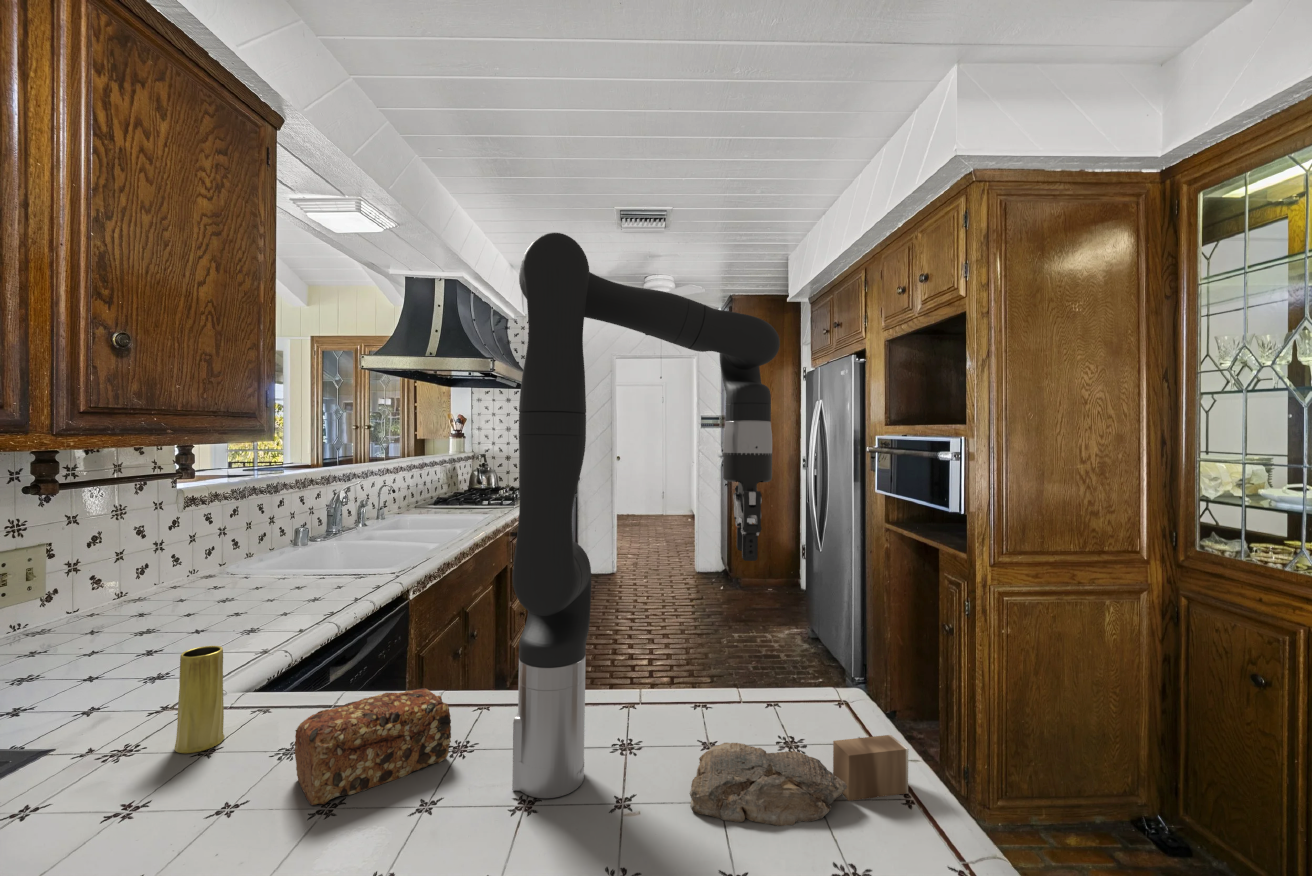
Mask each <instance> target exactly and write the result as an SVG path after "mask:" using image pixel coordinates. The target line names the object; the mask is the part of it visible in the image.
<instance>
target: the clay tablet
mask: <svg viewBox="0 0 1312 876" xmlns="http://www.w3.org/2000/svg"><path fill="white" fill-rule="evenodd" d="M698 760H699V765H698V766H697V770H696V776H694V777H693V779H692V781H691V785H690V786H691V788H690V791H689V796H690V798H691V800H690V804H689V805H690V808H691V811H692V812H694V813H697V814H699V815H706V816H711V817H713V818H716V819H721V820H722V821H731V822H735V823H741V822H742V823H743V822H744V821H745V819H747V820H749V821H751V822H755V823H761V824H767V825H772V826H778V827H782V826H783V827H784V826H794V825H795V823H796V822H797V823H798V822H814V821H817V820H822V818H824V817H825V816H826V815H827V814H829V812H830V811H831V810H832V806H831V805H832V804H833V802H834V801H835V800H836V799H838V798H839V797H840V796H841V795H843V794H842V793H843V792H844V790H845V789H846V788H847V785H846V783H845V782H843V781H842V780H841V779H839V778H838V777H836V776H834V774H833V771H830V770H828V768H827V767H826V766H825V765H824V764H823V762H821V760H820V759H818V758H815V757H813V756H809V755H807V754H806V753H802V752H799V751H798V752H797V751H795V750H791V751H787V750H785V751H777V752H767V751H766V750H765V749H763V748H762V747H755V746H752V745H748V744H745V743H738V742H723V743H720V744H718V745H717V744H716V745H713V746H712V747H710V749H708V750H706V751H705V752H704V753H703V754H702V755H700V757H699V758H698Z"/></svg>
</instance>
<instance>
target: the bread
mask: <svg viewBox="0 0 1312 876" xmlns="http://www.w3.org/2000/svg"><path fill="white" fill-rule="evenodd" d="M451 723H452V719H451V713H450V707H449V705H448V703H447V702H444V701H443V700H442V696H441V695H436V694H435V693H434V692H432V691H431V690H429V689H428V688H425V687H423V688H422V687H421V688H417V689H413V690H405V691H403V692H402V691H401V692H383V693H380V694H377V695H372V696H369V697H364V698H362V699H360V700H357V701H351V702H348V703H345V704H344V705H342V706H339V707H336V708H335V707H334V708H330V709H329V708H327V709H322V710H319V711H317V712H316V713H315V714H312V715H310V716H308V717H307V718H306V719H304V720H303V721H302V722H301V723H299V725H298V726H297V728H296V729H295V730H294V731H295V736H294V737H295V741H294V758H295V764H296V767H295V770H296V776H297V779H298V783H299V787H300V788H301V789H302V791H303V793H304V797H305V798H306V800H307V801H308V803H309V805H311V806H316V805H317V806H318V804H319V805H326V804H327V803H328V802H329V801H330V800H332V799H335V798H338V797H346V796H347V795H348V796H349V795H350V796H351V795H355V794H356V793H359V792H362V791H366V790H368V789H371V788H374V787H377V786H380V785H383V784H386V783H388V782H392V781H395V780H397V779H401V778H403V777H407V776H409V775H410V774H412V773H414V772H415V771H419V770H421V769H422V768H423V769H424V768H426V767H428V766H429V765H434V764H436V763H437V764H438V763H442V762H443V761H444V760H445V759H446V758H447V757H448V756H449V752H450V751H449V750H450V749H449V746H451V743H452V741H451V738H452V732H451V731H452V725H451ZM408 774H409V775H408ZM406 775H407V776H406ZM400 777H401V778H400Z"/></svg>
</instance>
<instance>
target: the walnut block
mask: <svg viewBox="0 0 1312 876" xmlns="http://www.w3.org/2000/svg"><path fill="white" fill-rule="evenodd" d="M832 743H833V744H832V746H833V747H832V748H833V749H832V750H833V751H832V753H833V757H832V761H833V762H832V766H833V767H832V773H833V774H834V776H836V777H838V778H839V779H841V780H842V781H843V782H845V783H846V785H847V788H846V789H845V790H844V792H843V793H842V794H841V795H842V796H843V797H844V798H845V799H846V801H848V802H850V801H851V802H852V801H858V800H866V799H875V798H881V797H890V796H896V795H897V796H898V795H904V794H905V795H906V794H909V748H908V747H907V746H905V745H904V744H903V743H902V742H900V741H899V740H898V739H897V738H895V737H894V736H893V735H892V734H886V735H884V734H883V735H876V736H875V735H874V736H865V737H864V736H863V737H856V738H848V739H847V738H846V739H837V740H836V739H835V740H833V741H832Z"/></svg>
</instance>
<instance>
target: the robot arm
mask: <svg viewBox="0 0 1312 876" xmlns="http://www.w3.org/2000/svg"><path fill="white" fill-rule="evenodd" d="M589 265H590V264H589V261H588V257H587V255H586V253H585V251H584V250H583V247H581V245H580V244H579V242H577V241H576V240H575V239H573V237H571V236H569V235H566V234H564V233H562V232H548V233H545V234H542V235H541V236H539V237H538V238H536V239H535V240H534V241H532V243H531V244H529V246H528V247H527V249H526V251H525V252H524V254H523V257H522V259H521V265H520V269H519V275H518V283H519V288H520V290H521V292H522V294H523V296H524V298H525V299H526V304H527V305H526V306H527V319H528V320H527V322H528V335H527V337H528V338H527V347H526V353H525V359H524V363H523V369H522V377H521V383H520V392H519V404H518V456H519V457H518V493H519V497H518V498H519V506H518V507H519V509H518V511H519V512H518V525H517V534H516V541H515V543H516V544H515V550H514V557H513V568H512V587H513V590H514V593H515V596H516V598H517V600H518V601H519V603H520V604H521V606H522V607H523V608H524V609H525V610H527V616H526V617H527V618H526V621H525V625H524V628H523V630H522V633H521V635H520V638H519V641H518V642H519V644H518V695H517V696H518V698H517V701H518V702H517V713H516V715H515V717H514V718H513V723H512V725H513V727H512V729H513V733H512V780H511V781H512V784H511V786H512V788H511V789H512V791H518V792H522V793H523V794H524V795H526V796H530V797H532V798H537V799H554V798H559V797H564V796H566V795H568V794H570V793H572V792H574V791H575V790H577V789H578V788H579V787H580V786H581V785H582V783H583V781H584V777H585V731H586V730H585V728H586V726H585V719H586V714H585V713H586V661H587V660H586V652H587V651H586V650H587V649H586V648H587V640H588V636H589V630H590V623H591V605H592V604H591V602H592V601H591V600H592V599H591V598H592V567H591V562H590V560H589V557H588V554H587V552H586V551H585V550H584V549H583V547H582V546H581V545H579V544H578V543H577V542H576V541H574V540H573V509H574V508H573V507H574V501H575V498H576V497H575V496H576V493H577V489H578V485H579V480H580V477H581V474H582V473H581V472H582V468H583V463H584V457H585V452H586V441H587V440H586V439H587V399H586V398H587V397H586V374H585V373H586V372H585V371H586V370H585V358H584V356H585V355H584V341H583V340H584V339H583V338H584V324H585V322H584V321H585V319H586V318H587V319H590V320H595V321H600V322H604V323H608V324H612V325H616V326H619V327H622V328H625V329H629V330H632V331H636V332H638V333H642V334H645V335H647V336H651V337H654V338H656V339H659V340H662V341H666V342H667V343H671V344H673V345H676V346H679V347H681V348H682V347H683V348H685V349H687V350H688V349H689V350H691V351H694V352H695V351H696V352H700V353H701V352H702V353H704V352H714V353H719V364H720V370H721V372H720V373H721V377H722V382H723V388H724V391H725V417H724V419H725V423H724V429H723V430H724V431H723V456H722V458H723V459H722V460H723V463H722V478H723V480H724V481H726V482H733V483H737V485H735V487H734V491H735V492H733V515H734V521H735V522H734V523H735V526H736V548H737V551H741V558H742V560H743V561H745V562H755V561H757V560H758V543H759V541H758V540H759V535H760V533H761V531H762V530H763V529H762V524H761V523H762V501H763V500H762V499H763V498H762V497H763V496H762V492H761V491H760V490H758V484H759V483H769V482H771V481H772V479H773V432H772V395H771V390H770V388H769V387H768V386H767V385H765V384H763V383H762V379H761V370H760V369H761V368H760V367H761V366H763V365H766V364H768V363H770V362H771V361H772V360H774V359H775V357H776V356H777V355H778V353H779V350H780V346H781V345H780V343H781V341H780V336H779V334H778V331H776V329H775V328H774V327H773V325H771V324H770V323H769V322H767V321H765V320H764V319H762V318H759V317H756V316H754V315H749V314H744V313H741V312H740V313H739V312H735V311H729V310H723V309H718V308H712V307H710V306H708V305H706V304H703V303H701V302H699V301H695V300H693V299H690V298H687V297H685V296H682V295H680V294H679V295H678V294H675V293H672V292H668V291H663V290H658V289H651V288H644V287H636V286H631V285H626V284H621V283H619V282H615V281H611V280H608V279H605V278H603V277H602V276H601V277H600V276H599V275H596V274H594V273H593V272H590V266H589Z"/></svg>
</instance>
